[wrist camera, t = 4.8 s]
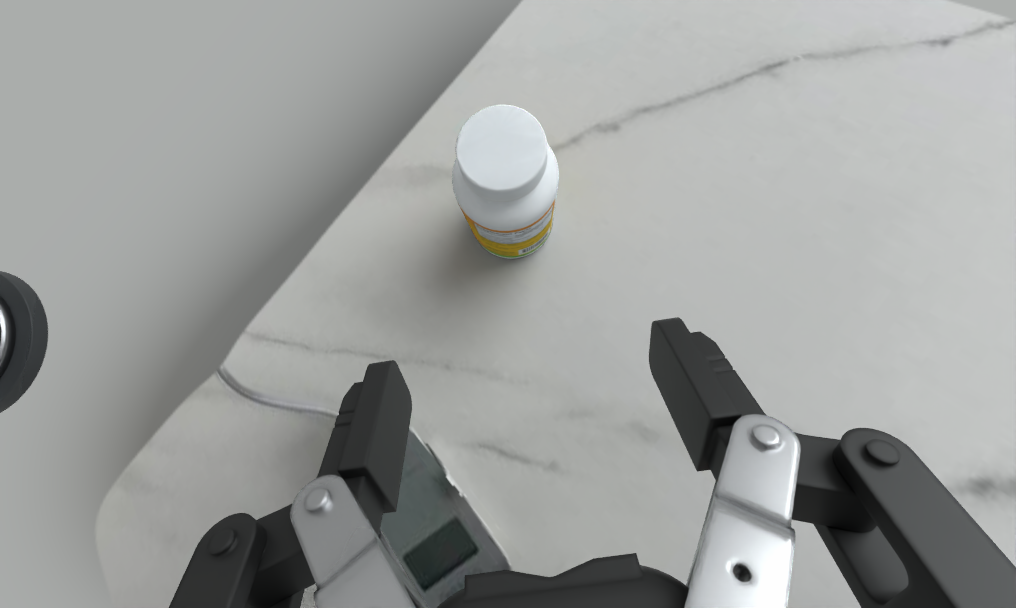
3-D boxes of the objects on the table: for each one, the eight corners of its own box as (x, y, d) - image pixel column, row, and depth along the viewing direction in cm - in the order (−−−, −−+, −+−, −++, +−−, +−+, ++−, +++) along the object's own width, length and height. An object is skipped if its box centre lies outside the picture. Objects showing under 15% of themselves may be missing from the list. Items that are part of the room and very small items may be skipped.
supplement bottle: (481, 175, 27) (453, 79, 18) (560, 189, 27) (575, 98, 17) (464, 251, 27) (425, 194, 17) (543, 267, 26) (549, 217, 17)
